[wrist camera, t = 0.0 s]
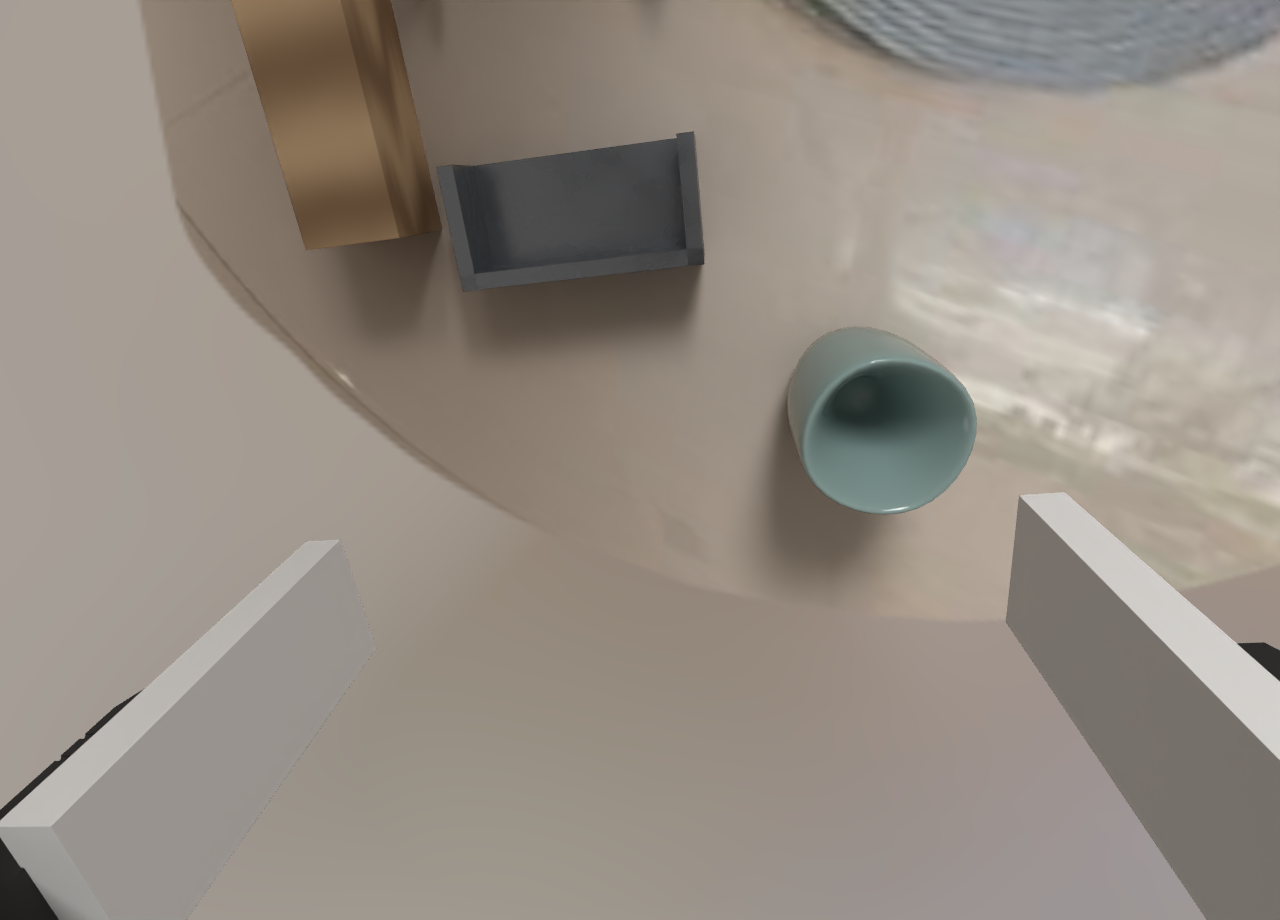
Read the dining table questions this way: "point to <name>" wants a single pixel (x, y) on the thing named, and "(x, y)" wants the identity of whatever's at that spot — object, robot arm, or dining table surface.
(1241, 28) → the dining table surface
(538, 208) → the bracket
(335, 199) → the wooden block
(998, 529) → the dining table surface
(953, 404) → the cup
